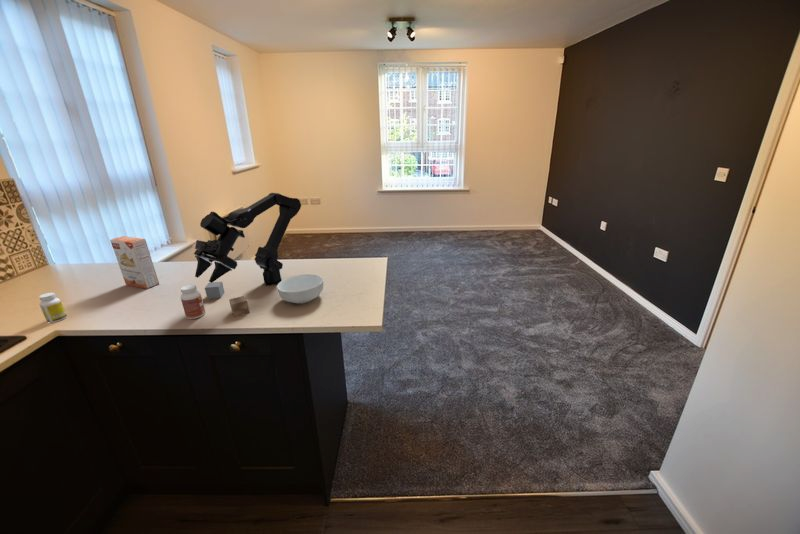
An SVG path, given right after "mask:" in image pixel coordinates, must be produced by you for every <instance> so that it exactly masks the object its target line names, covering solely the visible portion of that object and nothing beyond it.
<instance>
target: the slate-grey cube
mask: <svg viewBox="0 0 800 534" xmlns="http://www.w3.org/2000/svg"><path fill="white" fill-rule="evenodd" d="M204 290H205V294H206V300H215V298H216V299H222V297H224V295H225V288H224V284H223V281H214V282H212V283H211V282H208V283H207V285H206V286H205V287H204Z"/></svg>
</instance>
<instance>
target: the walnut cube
mask: <svg viewBox="0 0 800 534" xmlns="http://www.w3.org/2000/svg"><path fill="white" fill-rule="evenodd" d="M228 300H229V305H230V308H231V309H230V310H231V312H232V315H233V316H235V318H237V317H240V316H244V315H246V314H250V308H249V303H248V300H247V299H246V297H245V295H241V296H238V297H234V298H230V299H228ZM243 314H244V315H243ZM236 316H237V317H236Z"/></svg>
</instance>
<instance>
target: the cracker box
mask: <svg viewBox="0 0 800 534" xmlns="http://www.w3.org/2000/svg"><path fill="white" fill-rule="evenodd" d="M109 240H110V244H111V246H112V249H113V252H114V256H115V258H116V261H117V263H118V266H119V269H120V272H121V274H122V278H123V281H124V283H125V285H127V286H131V287H136V288H141V289H145V290H148V289H150V287H151V288H153V287H155V286H157V285H159V284H160V281H159V279H158V275H157V272H156V270H155V267H154V263H153V260H152V256H151V253H150V250H149V246H148V243H147V241H146V239H145V238H141V237H133V236H124V235H123V236H120V237H116V238H115V237H114V238H112V239H109Z"/></svg>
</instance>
